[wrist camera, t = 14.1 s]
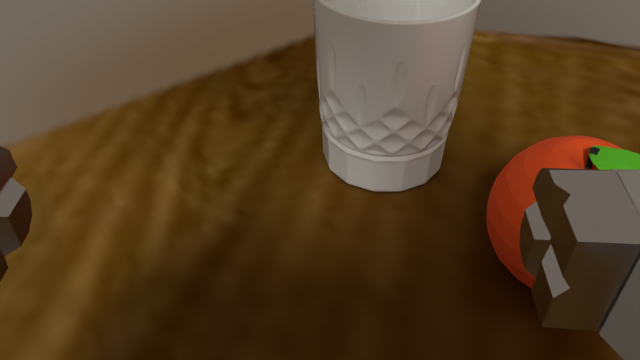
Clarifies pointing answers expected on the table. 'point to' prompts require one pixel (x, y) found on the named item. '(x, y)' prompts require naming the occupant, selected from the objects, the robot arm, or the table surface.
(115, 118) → the table surface
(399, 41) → the white cup
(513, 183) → the clementine
